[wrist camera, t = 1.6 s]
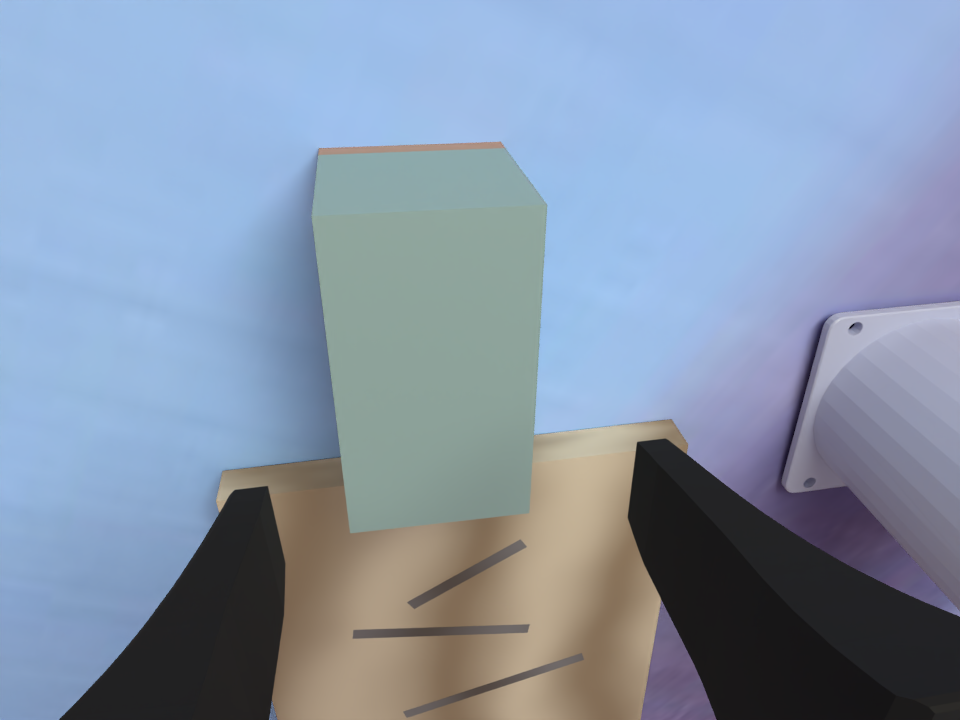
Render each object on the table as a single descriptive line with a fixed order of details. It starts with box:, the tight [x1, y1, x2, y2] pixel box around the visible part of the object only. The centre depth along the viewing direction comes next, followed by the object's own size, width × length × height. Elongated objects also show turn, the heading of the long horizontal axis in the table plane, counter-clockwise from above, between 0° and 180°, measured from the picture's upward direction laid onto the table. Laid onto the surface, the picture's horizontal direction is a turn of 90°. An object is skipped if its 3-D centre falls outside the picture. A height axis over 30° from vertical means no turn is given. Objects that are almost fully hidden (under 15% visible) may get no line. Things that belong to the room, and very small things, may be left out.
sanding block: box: [311, 142, 547, 533], centre depth 20 cm, size 5×9×6 cm, turn 0°
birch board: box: [216, 419, 688, 720], centre depth 29 cm, size 16×18×2 cm
